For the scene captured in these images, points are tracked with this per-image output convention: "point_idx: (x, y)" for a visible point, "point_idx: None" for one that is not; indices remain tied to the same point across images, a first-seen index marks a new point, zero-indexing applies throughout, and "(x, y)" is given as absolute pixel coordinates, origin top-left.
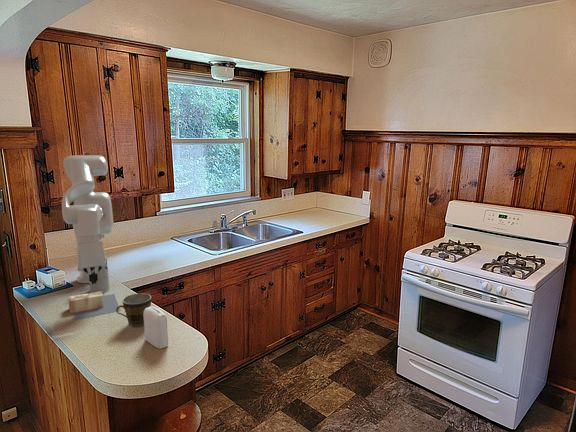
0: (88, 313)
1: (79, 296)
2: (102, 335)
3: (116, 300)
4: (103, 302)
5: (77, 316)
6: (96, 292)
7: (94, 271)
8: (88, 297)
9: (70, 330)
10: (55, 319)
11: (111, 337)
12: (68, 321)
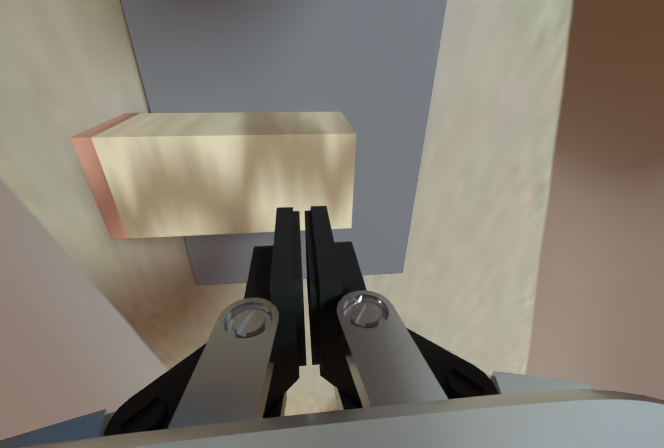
0: (256, 240)
1: (177, 174)
2: (305, 395)
3: (426, 123)
4: (347, 116)
5: (203, 253)
6: (314, 145)
7: (335, 374)
8: (252, 226)
9: (194, 341)
10: (82, 218)
11: (329, 409)
12: (165, 266)
